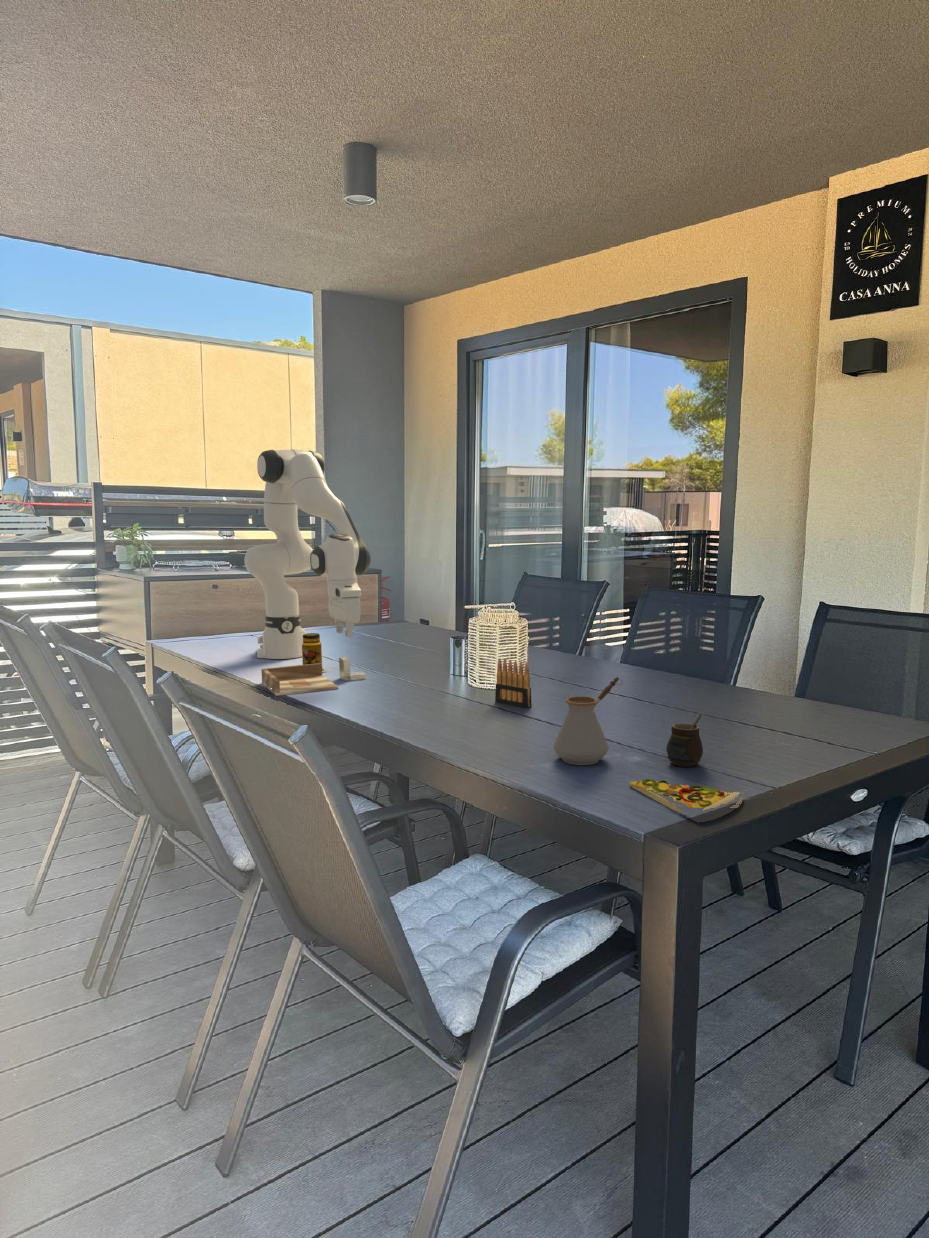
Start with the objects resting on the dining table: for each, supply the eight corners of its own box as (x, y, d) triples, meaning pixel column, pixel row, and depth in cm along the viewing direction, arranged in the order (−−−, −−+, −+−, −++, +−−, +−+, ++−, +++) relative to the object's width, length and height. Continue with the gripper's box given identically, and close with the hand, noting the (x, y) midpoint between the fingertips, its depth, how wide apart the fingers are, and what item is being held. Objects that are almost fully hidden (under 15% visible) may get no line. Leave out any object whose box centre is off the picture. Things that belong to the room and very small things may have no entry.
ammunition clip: (494, 702, 226) (494, 658, 224) (499, 700, 227) (498, 657, 225) (527, 708, 219) (527, 663, 217) (531, 706, 220) (531, 661, 219)
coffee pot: (589, 772, 169) (590, 699, 167) (542, 760, 176) (542, 690, 174) (641, 746, 185) (642, 680, 183) (595, 737, 192) (596, 673, 190)
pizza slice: (707, 829, 141) (708, 812, 141) (605, 798, 156) (605, 783, 155) (750, 804, 152) (751, 788, 152) (651, 777, 167) (652, 763, 166)
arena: (262, 682, 251) (261, 668, 251) (321, 676, 259) (320, 663, 258) (275, 695, 235) (275, 680, 235) (338, 688, 243) (337, 674, 242)
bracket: (344, 681, 253) (343, 660, 252) (339, 678, 257) (339, 657, 256) (366, 678, 255) (365, 657, 255) (361, 676, 260) (361, 655, 259)
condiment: (305, 674, 262) (303, 636, 261) (297, 669, 270) (295, 632, 268) (327, 672, 266) (326, 634, 264) (319, 667, 273) (317, 630, 271)
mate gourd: (658, 762, 174) (659, 715, 173) (682, 756, 179) (684, 710, 177) (685, 771, 169) (687, 722, 167) (710, 764, 173) (712, 717, 171)
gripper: (322, 586, 259) (324, 631, 261) (342, 592, 240) (344, 640, 242) (342, 585, 261) (344, 629, 263) (363, 591, 243) (365, 638, 245)
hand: (344, 634), depth 253 cm, fingers open, 8 cm apart
